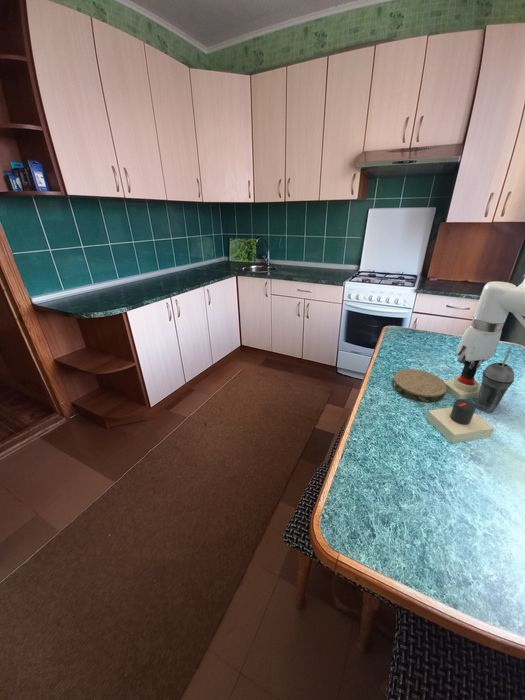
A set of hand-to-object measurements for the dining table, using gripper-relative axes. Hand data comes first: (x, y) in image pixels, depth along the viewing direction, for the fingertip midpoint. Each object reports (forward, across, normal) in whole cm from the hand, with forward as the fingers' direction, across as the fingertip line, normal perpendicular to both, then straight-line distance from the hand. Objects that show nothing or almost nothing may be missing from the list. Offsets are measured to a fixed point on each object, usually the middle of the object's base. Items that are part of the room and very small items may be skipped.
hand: (466, 376), depth 94 cm
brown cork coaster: (+6, +13, -4) cm, 15 cm away
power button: (+2, 0, 0) cm, 2 cm away
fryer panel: (+6, +15, +15) cm, 22 cm away
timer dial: (+3, +15, +15) cm, 21 cm away
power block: (+6, 0, 0) cm, 6 cm away
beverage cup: (+6, 0, +9) cm, 11 cm away
